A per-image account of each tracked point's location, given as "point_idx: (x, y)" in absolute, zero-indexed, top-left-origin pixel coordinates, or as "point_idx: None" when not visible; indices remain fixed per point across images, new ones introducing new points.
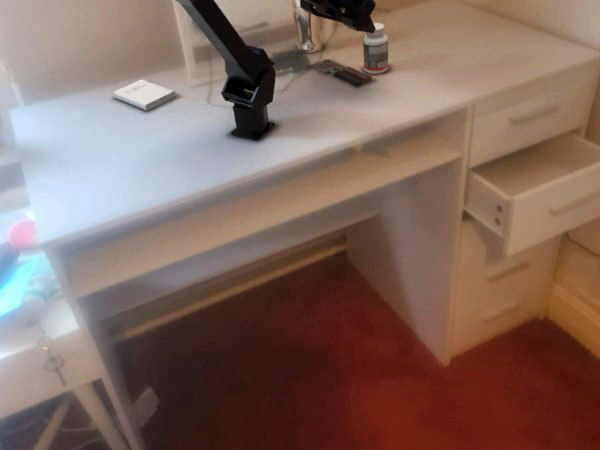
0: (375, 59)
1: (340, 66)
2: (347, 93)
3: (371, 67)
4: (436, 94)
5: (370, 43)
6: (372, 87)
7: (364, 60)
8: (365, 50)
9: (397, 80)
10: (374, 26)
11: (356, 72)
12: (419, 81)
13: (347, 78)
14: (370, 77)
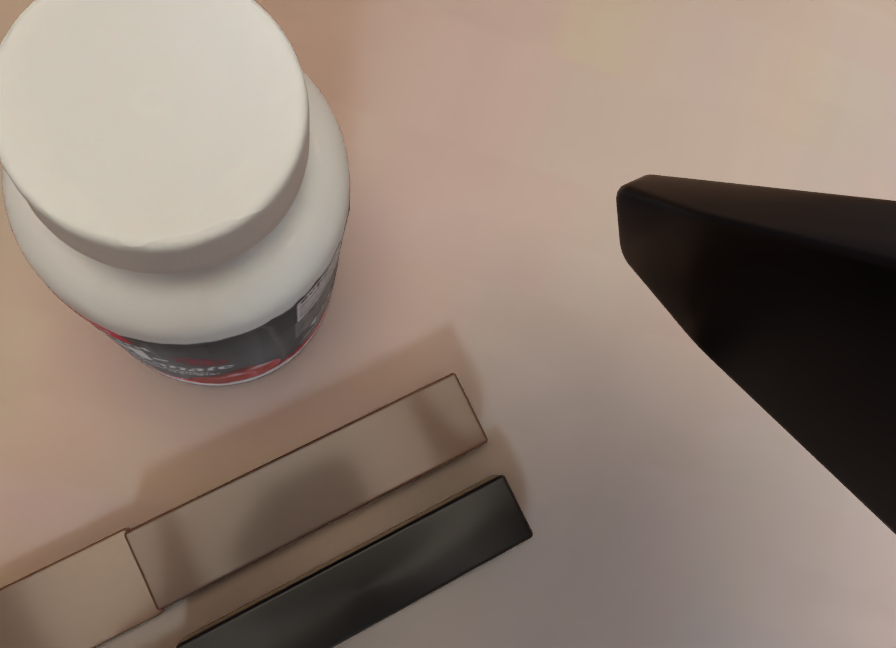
0: (334, 275)
1: (30, 607)
2: (618, 638)
3: (311, 331)
4: (810, 13)
5: (310, 276)
6: (570, 404)
7: (217, 373)
8: (241, 347)
9: (507, 178)
10: (721, 187)
11: (311, 487)
12: (579, 36)
13: (408, 600)
14: (460, 386)
